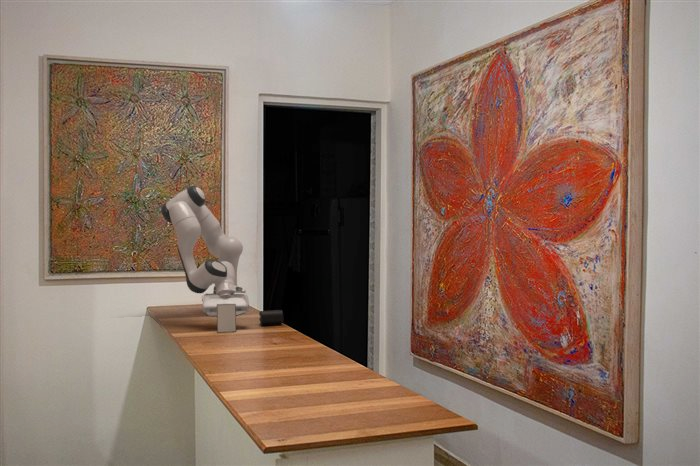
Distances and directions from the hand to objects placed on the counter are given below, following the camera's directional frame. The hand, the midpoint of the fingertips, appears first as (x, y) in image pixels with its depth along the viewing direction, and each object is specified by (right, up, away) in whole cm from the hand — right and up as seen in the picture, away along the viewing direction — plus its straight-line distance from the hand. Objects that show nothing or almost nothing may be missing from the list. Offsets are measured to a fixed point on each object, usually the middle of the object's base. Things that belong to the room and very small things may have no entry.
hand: (225, 318), depth 318 cm
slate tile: (+1, -6, -3) cm, 6 cm away
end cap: (+18, -5, +14) cm, 24 cm away
